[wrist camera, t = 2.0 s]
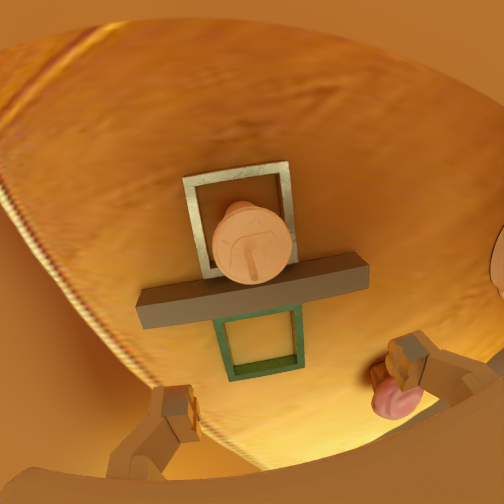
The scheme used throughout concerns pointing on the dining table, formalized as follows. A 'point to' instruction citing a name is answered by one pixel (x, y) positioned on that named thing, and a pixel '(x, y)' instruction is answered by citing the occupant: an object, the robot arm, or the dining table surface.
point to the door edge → (251, 292)
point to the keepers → (212, 271)
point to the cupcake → (391, 395)
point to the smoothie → (251, 243)
